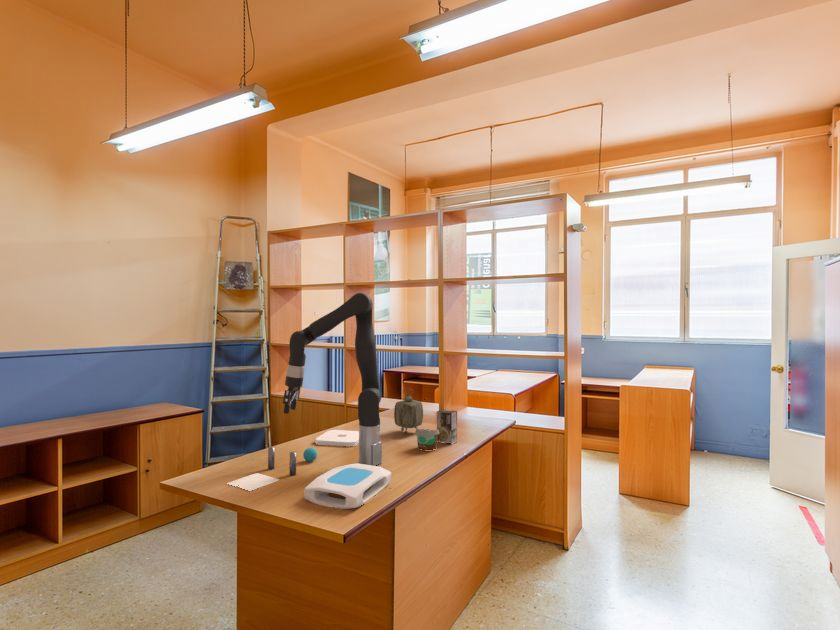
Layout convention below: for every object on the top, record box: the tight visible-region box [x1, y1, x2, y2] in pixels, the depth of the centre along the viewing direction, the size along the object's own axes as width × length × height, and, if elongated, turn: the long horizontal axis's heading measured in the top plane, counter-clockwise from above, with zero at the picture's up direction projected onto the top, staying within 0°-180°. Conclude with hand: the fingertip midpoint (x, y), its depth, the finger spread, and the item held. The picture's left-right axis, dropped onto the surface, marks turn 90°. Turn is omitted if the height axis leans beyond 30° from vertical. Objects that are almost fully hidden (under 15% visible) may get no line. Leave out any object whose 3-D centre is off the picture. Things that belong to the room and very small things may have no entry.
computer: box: [314, 429, 359, 448], centre depth 236 cm, size 22×22×3 cm
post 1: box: [267, 446, 276, 471], centre depth 191 cm, size 3×3×9 cm
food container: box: [415, 427, 440, 450], centre depth 219 cm, size 12×6×10 cm, turn 68°
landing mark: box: [225, 472, 280, 492], centre depth 175 cm, size 14×14×1 cm
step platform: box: [303, 462, 392, 510], centre depth 166 cm, size 21×28×6 cm
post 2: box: [288, 451, 297, 477], centre depth 184 cm, size 3×3×9 cm
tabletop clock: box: [393, 387, 424, 435], centre depth 251 cm, size 14×9×25 cm, turn 58°
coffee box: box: [436, 408, 458, 443], centre depth 233 cm, size 9×6×16 cm
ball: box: [302, 447, 318, 463], centre depth 201 cm, size 6×6×6 cm
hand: (289, 411), depth 200 cm, fingers open, 8 cm apart
